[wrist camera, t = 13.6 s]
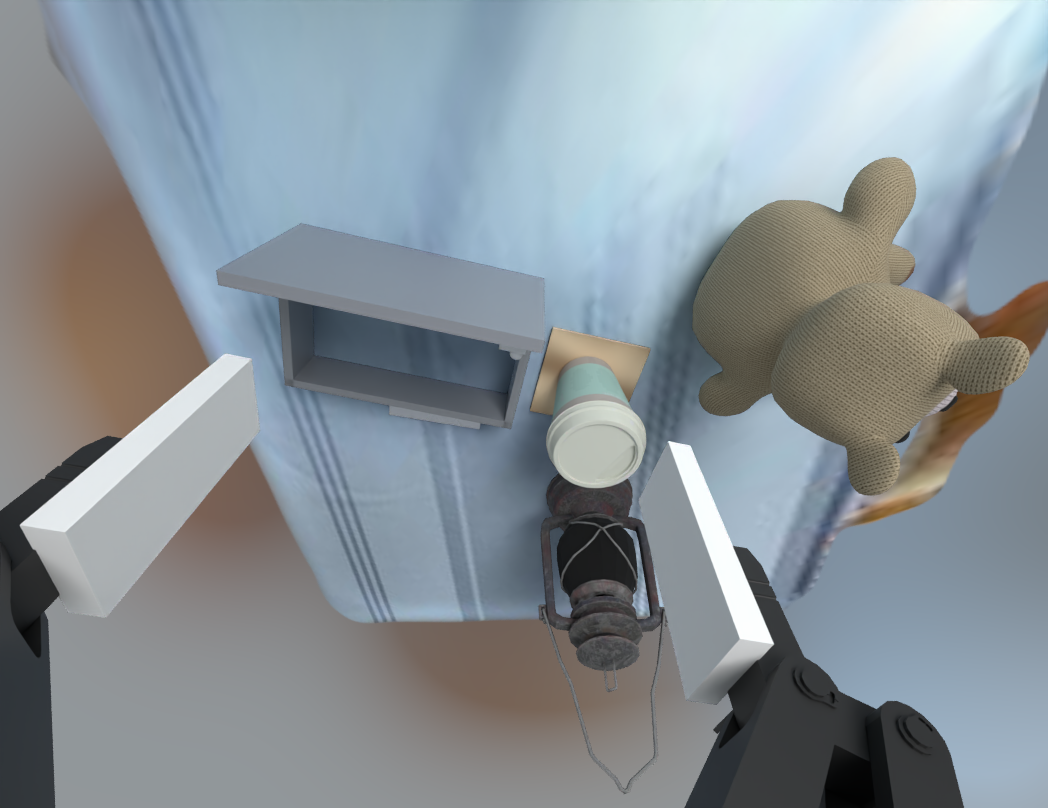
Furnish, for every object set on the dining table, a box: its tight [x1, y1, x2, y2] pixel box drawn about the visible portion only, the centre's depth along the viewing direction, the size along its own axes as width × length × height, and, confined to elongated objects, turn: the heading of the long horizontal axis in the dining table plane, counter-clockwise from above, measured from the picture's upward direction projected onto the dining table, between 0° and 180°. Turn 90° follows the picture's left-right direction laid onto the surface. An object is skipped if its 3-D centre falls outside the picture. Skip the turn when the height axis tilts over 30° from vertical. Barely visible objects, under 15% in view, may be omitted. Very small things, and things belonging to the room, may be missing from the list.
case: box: [216, 224, 545, 429], centre depth 41 cm, size 15×22×13 cm, turn 78°
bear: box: [692, 157, 1029, 495], centre depth 33 cm, size 21×16×25 cm
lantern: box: [539, 473, 668, 794], centre depth 46 cm, size 12×11×30 cm
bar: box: [389, 406, 481, 429], centre depth 52 cm, size 10×1×1 cm, turn 80°
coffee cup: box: [546, 356, 646, 488], centre depth 44 cm, size 8×8×12 cm
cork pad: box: [530, 327, 650, 415], centre depth 49 cm, size 10×10×1 cm
